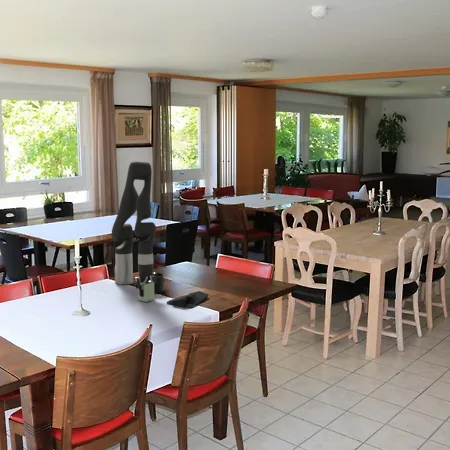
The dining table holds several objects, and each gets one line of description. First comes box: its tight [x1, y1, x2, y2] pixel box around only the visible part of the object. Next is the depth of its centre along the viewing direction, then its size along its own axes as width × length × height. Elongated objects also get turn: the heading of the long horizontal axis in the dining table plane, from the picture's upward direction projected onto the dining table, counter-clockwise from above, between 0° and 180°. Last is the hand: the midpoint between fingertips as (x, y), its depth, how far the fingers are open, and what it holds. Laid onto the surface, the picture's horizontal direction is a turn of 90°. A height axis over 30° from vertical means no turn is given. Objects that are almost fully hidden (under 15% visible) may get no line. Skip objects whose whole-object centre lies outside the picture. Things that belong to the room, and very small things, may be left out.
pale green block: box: [137, 282, 155, 303], centre depth 279 cm, size 6×6×9 cm
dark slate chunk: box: [166, 290, 210, 309], centre depth 278 cm, size 15×22×5 cm
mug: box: [154, 272, 165, 294], centre depth 296 cm, size 9×12×9 cm
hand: (146, 295), depth 279 cm, fingers closed on pale green block, 5 cm apart
